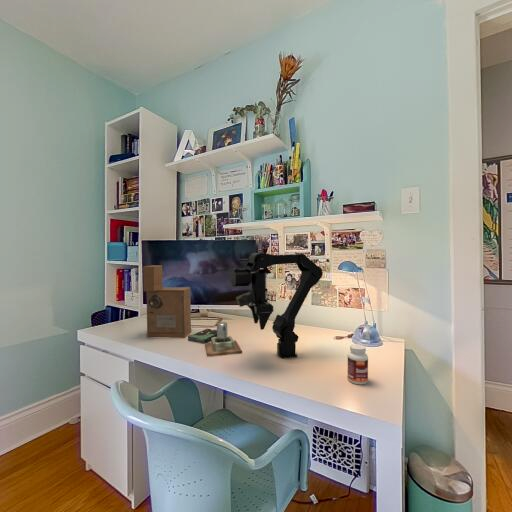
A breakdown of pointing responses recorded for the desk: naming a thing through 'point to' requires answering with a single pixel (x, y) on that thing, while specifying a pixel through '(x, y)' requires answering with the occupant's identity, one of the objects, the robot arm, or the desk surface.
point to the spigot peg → (222, 332)
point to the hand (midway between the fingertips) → (258, 326)
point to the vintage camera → (166, 306)
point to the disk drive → (203, 336)
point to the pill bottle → (357, 364)
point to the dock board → (222, 347)
